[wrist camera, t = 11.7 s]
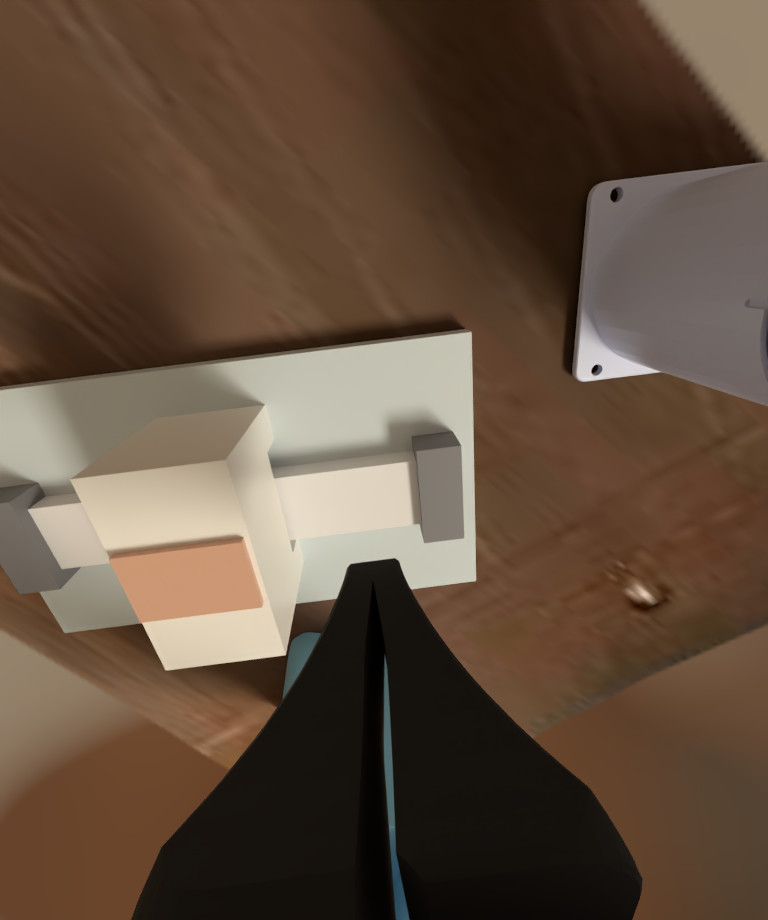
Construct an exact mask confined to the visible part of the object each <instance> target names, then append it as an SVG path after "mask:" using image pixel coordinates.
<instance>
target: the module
mask: <svg viewBox="0 0 768 920" xmlns="http://www.w3.org/2000/svg"><path fill="white" fill-rule="evenodd" d="M273 441H274V439H273V435H272V431H271V427H270V422H269V418H268V414H267V410H266V406H265V405H258V406H250V407H242V408H234V409H226V410H218V411H210V412H202V413H194V414H186V415H178V416H170V417H162V418H155V419H154V420H153V421H151V422H150V423H148V424H147V425H146V426H144V427H143V428H141V429H140V430H139V431H137V432H136V433H134V434H133V435H132V436H130V437H129V438H127V439H126V440H124V441H123V442H122V443H120V444H119V445H117V446H116V447H115V448H113V449H112V450H110V451H109V452H108V453H106V454H105V455H103V456H102V457H101V458H99V459H98V460H96V461H95V462H94V463H92V464H91V465H89V466H88V467H87V468H85V469H84V470H82V471H81V472H80V473H78V474H77V475H75V476H74V477H73V478H71V479H70V481H71V483H72V485H73V487H74V489H75V491H76V493H77V495H78V497H79V499H80V501H81V503H82V505H83V507H84V509H85V511H86V513H87V515H88V517H89V519H90V521H91V523H92V525H93V527H94V529H95V531H96V533H97V535H98V537H99V539H100V541H101V543H102V545H103V546H104V548H105V550H106V552H107V554H108V556H109V559H108V560H109V562H110V564H111V565H112V567H113V569H114V571H115V573H116V575H117V577H118V579H119V581H120V583H121V585H122V587H123V589H124V591H125V593H126V595H127V597H128V599H129V601H130V603H131V605H132V607H133V609H134V611H135V613H136V615H137V617H138V619H139V621H140V623H142V624H143V626H144V628H145V630H146V632H147V634H148V636H149V638H150V640H151V642H152V644H153V646H154V648H155V650H156V652H157V654H158V656H159V658H160V660H161V662H162V664H163V666H164V668H165V670H166V671H167V670H175V669H182V668H190V667H198V666H206V665H214V664H222V663H230V662H237V661H245V660H253V659H261V658H269V657H277V656H284V655H286V652H287V646H288V641H289V636H290V631H291V625H292V620H293V615H294V610H295V605H296V599H297V594H298V589H299V584H300V578H301V573H302V568H303V563H304V561H303V557H302V553H301V548H300V544H299V540H298V539H297V540H290V539H289V535H288V531H287V527H286V524H285V520H284V516H283V512H282V508H281V504H280V500H279V496H278V492H277V489H276V485H275V481H274V477H273V473H272V469H271V465H270V461H269V457H268V454H267V452H268V450H269V449H270V447H271V445H272V443H273Z"/></svg>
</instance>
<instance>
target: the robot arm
mask: <svg viewBox="0 0 768 920" xmlns="http://www.w3.org/2000/svg"><path fill="white" fill-rule="evenodd" d="M613 189H615V190H616V191H617V194H618V196H617V199H616V201H615V202H612V201H611V199H610V194H611V191H612V190H613ZM595 365H598V369H597V371H596V372H595V373H593V374H592V373H591V370H592V368H593V367H594V366H595ZM658 372H664V373H667V374H670V375H673V376H676V377H679V378H682V379H685V380H688V381H691V382H694V383H697V384H700V385H704V386H707V387H710V388H713V389H716V390H719V391H722V392H725V393H728V394H731V395H734V396H737V397H741V398H744V399H747V400H750V401H753V402H756V403H759V404H762V405H765V406H768V161H767V162H760V163H752V164H744V165H736V166H728V167H719V168H711V169H703V170H695V171H687V172H679V173H670V174H662V175H654V176H646V177H638V178H629V179H621V180H613V181H605V182H602V183H599V184H597V185H595V186H594V187H593V188H592V189H591V191H590V192H589V195H588V199H587V209H586V220H585V232H584V243H583V255H582V266H581V277H580V289H579V300H578V311H577V323H576V334H575V346H574V357H573V368H572V373H573V376H574V378H575V379H577V380H579V381H583V382H586V381H594V380H602V379H610V378H618V377H626V376H634V375H642V374H650V373H658ZM385 658H386V664H387V673H388V689H389V706H390V724H391V744H392V765H393V788H394V813H395V839H396V855H397V860H398V865H399V870H400V875H401V880H402V885H403V890H404V895H405V900H406V905H407V910H408V915H409V920H632V919H633V916H634V913H635V910H636V907H637V904H638V901H639V899H640V895H641V891H642V877H641V875H640V873H639V871H638V869H637V867H636V864H635V861H634V860H633V857H632V856H631V854H630V852H629V850H628V848H627V846H626V845H625V843H624V841H623V839H622V838H621V836H620V834H619V832H618V831H617V829H616V827H615V826H614V824H613V823H612V821H611V819H610V818H609V816H608V815H607V813H606V811H605V810H604V809H603V807H602V806H601V804H600V803H599V801H598V800H597V798H596V797H595V795H594V794H593V792H592V791H591V789H590V788H589V787H588V786H587V785H585V784H584V783H583V782H582V781H581V780H580V779H578V778H577V777H576V776H575V775H573V774H572V773H571V772H570V771H569V770H567V769H566V768H565V767H564V766H563V765H562V764H560V763H559V762H558V761H557V760H556V759H555V758H554V757H552V756H551V755H550V754H549V753H548V752H547V751H545V750H544V749H543V748H542V747H541V746H540V745H539V744H538V743H537V742H535V740H533V739H532V738H531V737H530V736H529V735H528V734H527V733H526V732H525V731H524V730H523V729H522V728H521V727H519V726H518V725H517V724H516V723H515V722H514V721H513V720H512V719H511V718H510V717H509V716H508V714H507V713H506V712H505V711H504V710H503V709H502V708H501V707H500V706H499V705H498V704H497V703H496V702H495V701H494V700H493V699H492V698H491V697H490V696H489V695H488V694H487V693H486V692H485V691H484V690H483V689H482V688H481V687H480V685H479V684H478V683H477V682H476V681H475V680H474V679H473V677H472V676H471V675H470V674H469V673H468V672H467V670H466V669H465V668H464V667H463V666H462V664H461V663H460V662H459V661H458V660H457V658H456V657H455V656H454V655H453V653H452V652H451V651H450V649H449V648H448V647H447V645H446V644H445V643H444V641H443V640H442V638H441V637H440V636H439V634H438V633H437V631H436V630H435V629H434V627H433V626H432V624H431V623H430V621H429V620H428V618H427V616H426V615H425V613H424V611H423V610H422V608H421V607H420V605H419V603H418V602H417V600H416V598H415V596H414V595H413V593H412V591H411V589H410V587H409V585H408V583H407V581H406V579H405V576H404V574H403V571H402V569H401V566H400V561H399V560H397V559H396V558H392V559H384V560H376V561H369V562H361V563H353V564H350V565H349V566H348V567H347V570H346V574H345V577H344V580H343V583H342V586H341V589H340V592H339V594H338V597H337V599H336V602H335V604H334V606H333V609H332V611H331V613H330V615H329V618H328V620H327V622H326V624H325V627H324V629H323V631H322V633H321V635H320V636H319V638H318V640H317V642H316V644H315V646H314V648H313V650H312V652H311V654H310V656H309V657H308V659H307V661H306V663H305V665H304V666H303V668H302V670H301V671H300V673H299V675H298V676H297V678H296V680H295V681H294V683H293V684H292V686H291V688H290V689H289V691H288V692H287V694H286V695H285V697H284V698H283V700H282V701H281V703H280V704H279V706H278V707H277V709H276V710H275V711H274V713H273V714H272V716H271V717H270V719H269V720H268V722H267V723H266V724H265V726H264V727H263V729H262V730H261V731H260V733H259V734H258V735H257V737H256V738H255V739H254V741H253V742H252V743H251V744H250V746H249V747H248V748H247V749H246V751H245V752H244V753H243V754H242V756H241V757H240V758H239V759H238V761H237V762H236V763H235V764H234V766H233V767H232V768H231V769H230V771H229V772H228V773H227V774H226V776H225V777H224V778H223V779H222V781H221V782H220V783H219V784H218V785H217V786H216V788H215V789H214V790H213V791H212V792H211V793H210V794H209V796H208V797H207V798H206V799H205V800H204V801H203V802H202V803H201V804H200V806H199V807H198V808H197V809H196V810H195V811H194V812H193V813H192V814H191V815H190V817H189V818H188V819H187V820H186V821H185V822H184V823H183V824H182V825H181V827H180V828H179V829H178V830H177V831H176V832H175V833H174V834H173V835H172V836H171V838H170V839H169V840H168V841H167V842H166V843H165V844H164V845H163V846H162V847H161V850H160V852H159V854H158V857H157V859H156V861H155V863H154V866H153V868H152V870H151V873H150V875H149V877H148V879H147V881H146V883H145V886H144V888H143V891H142V893H141V895H140V897H139V900H138V902H137V905H136V908H135V911H134V914H133V917H132V919H131V920H396V912H395V899H394V886H393V874H392V861H391V847H390V834H389V820H388V807H387V792H386V778H385V764H384V671H385Z"/></svg>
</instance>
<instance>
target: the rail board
mask: <svg viewBox="0 0 768 920" xmlns="http://www.w3.org/2000/svg"><path fill="white" fill-rule="evenodd" d="M258 405H265V406H266V410H267V414H268V418H269V422H270V427H271V431H272V435H273V439H274V441H273V443H272V445H271V447H270V449H269V450H268V452H267V454H268V457H269V461H270V465H271V469H272V473H273V477H274V481H275V485H276V489H277V492H278V496H279V500H280V504H281V508H282V512H283V516H284V520H285V524H286V527H287V531H288V535H289V539H290V540H297V539H298V540H299V544H300V548H301V553H302V557H303V561H304V563H303V568H302V573H301V578H300V584H299V589H298V594H297V599H296V604H298V603H306V602H314V601H322V600H330V599H337V597H338V594H339V592H340V589H341V586H342V583H343V580H344V577H345V574H346V570H347V567H348V566H349V565H350V564H353V563H361V562H369V561H376V560H384V559H392V558H396V559H397V560H399V561H400V566H401V569H402V571H403V574H404V576H405V579H406V581H407V583H408V585H409V587H410V589H417V588H424V587H432V586H440V585H448V584H456V583H464V582H472V581H476V551H475V495H474V440H473V384H472V332H471V331H469V330H467V329H462V330H454V331H446V332H438V333H430V334H422V335H414V336H406V337H398V338H390V339H381V340H373V341H365V342H357V343H349V344H341V345H333V346H325V347H317V348H309V349H301V350H293V351H284V352H276V353H268V354H260V355H252V356H244V357H236V358H228V359H220V360H212V361H204V362H196V363H188V364H179V365H171V366H163V367H155V368H147V369H139V370H131V371H123V372H115V373H107V374H99V375H91V376H82V377H74V378H66V379H58V380H50V381H42V382H34V383H26V384H18V385H10V386H2V387H0V565H1V566H2V568H3V569H4V571H5V572H6V574H7V575H8V577H9V579H10V580H11V582H12V583H13V585H14V586H15V588H16V589H17V591H18V592H19V594H27V593H35V592H39V593H40V594H41V596H42V597H43V599H44V601H45V602H46V604H47V605H48V607H49V609H50V610H51V612H52V614H53V615H54V617H55V618H56V620H57V622H58V623H59V625H60V626H61V628H62V630H63V631H64V633H70V632H78V631H86V630H93V629H101V628H109V627H117V626H125V625H133V624H141V623H140V621H139V619H138V617H137V615H136V613H135V611H134V609H133V607H132V605H131V603H130V601H129V599H128V597H127V595H126V593H125V591H124V589H123V587H122V585H121V583H120V581H119V579H118V577H117V575H116V573H115V571H114V569H113V567H112V565H111V564H110V562H109V560H108V559H109V556H108V554H107V552H106V550H105V548H104V546H103V545H102V543H101V541H100V539H99V537H98V535H97V533H96V531H95V529H94V527H93V525H92V523H91V521H90V519H89V517H88V515H87V513H86V511H85V509H84V507H83V505H82V503H81V501H80V499H79V497H78V495H77V493H76V491H75V489H74V487H73V485H72V483H71V481H70V479H71V478H73V477H74V476H75V475H77V474H78V473H80V472H81V471H82V470H84V469H85V468H87V467H88V466H89V465H91V464H92V463H94V462H95V461H96V460H98V459H99V458H101V457H102V456H103V455H105V454H106V453H108V452H109V451H110V450H112V449H113V448H115V447H116V446H117V445H119V444H120V443H122V442H123V441H124V440H126V439H127V438H129V437H130V436H132V435H133V434H134V433H136V432H137V431H139V430H140V429H141V428H143V427H144V426H146V425H147V424H148V423H150V422H151V421H153V420H154V419H155V418H162V417H170V416H178V415H186V414H194V413H202V412H210V411H218V410H226V409H234V408H242V407H250V406H258Z"/></svg>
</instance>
